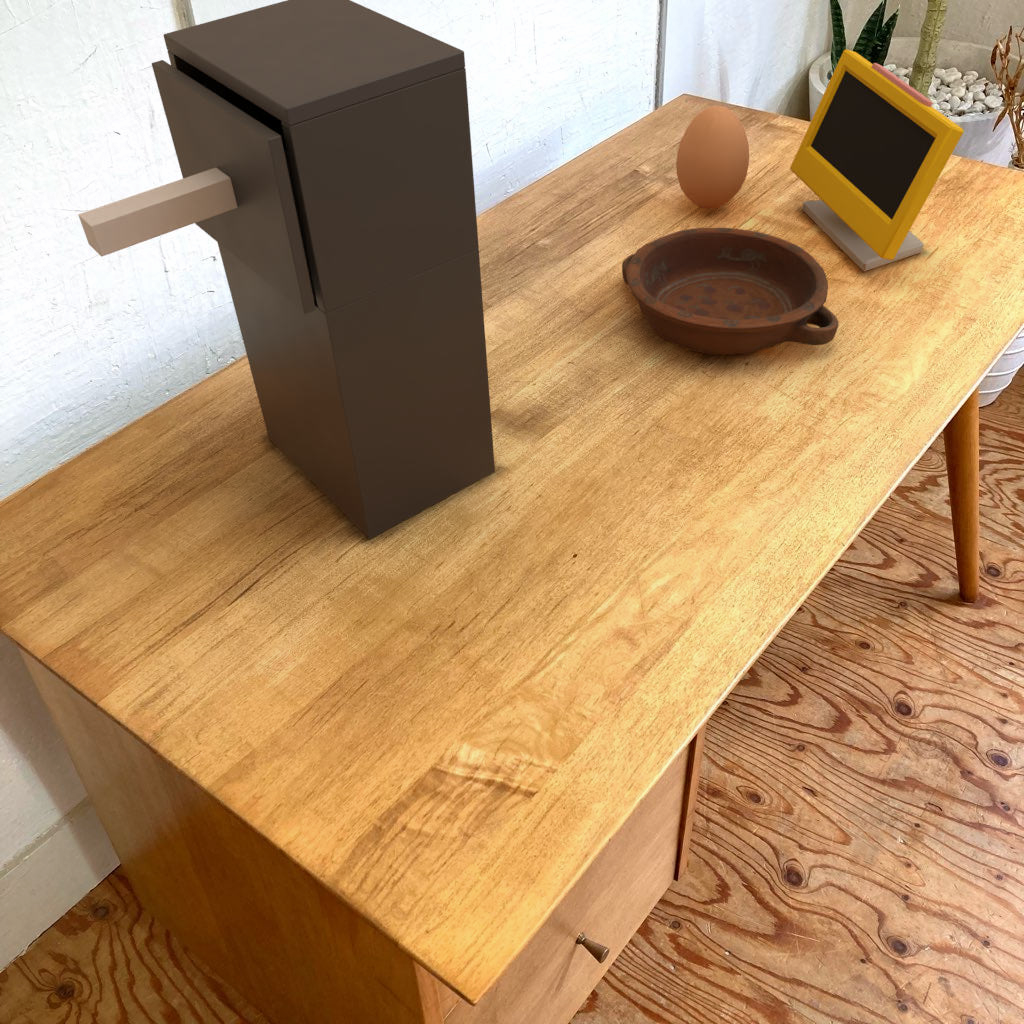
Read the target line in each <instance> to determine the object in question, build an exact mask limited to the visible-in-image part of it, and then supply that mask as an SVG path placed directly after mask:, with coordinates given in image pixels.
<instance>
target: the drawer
mask: <svg viewBox="0 0 1024 1024" xmlns="http://www.w3.org/2000/svg"><path fill="white" fill-rule="evenodd" d="M151 67H152V71H153V74H154V78H155V81H156V85H157V89H158V93H159V97H160V100H161V103H162V107H163V110H164V114H165V118H166V122H167V126H168V130H169V133H170V137H171V141H172V143H173V147H174V151H175V155H176V158H177V162H178V165H179V169H180V172H181V173H180V174H181V176H182V178H181V179H177V180H175V181H173V182H169V183H166V184H163V185H160V186H158V187H154V188H152V189H149V190H145V191H142V192H140V193H137V194H134V195H131V196H128V197H125V198H122V199H119V200H116V201H114V202H113V201H112V202H111V203H110V202H109V203H107V204H105V205H102V206H98V207H96V208H93V209H89V210H86V211H84V212H82V213H81V212H80V213H78V214H77V215H78V219H79V221H80V224H81V226H82V229H83V232H84V235H85V238H86V241H87V243H88V245H89V247H91V248H92V249H93V250H94V251H95V252H96V253H97V254H98V255H99V256H100V257H105V256H107V255H110V254H114V253H116V252H119V251H122V250H124V249H127V248H130V247H132V246H135V245H138V244H141V243H143V242H147V241H149V240H152V239H154V238H157V237H161V236H163V235H166V234H168V233H171V232H174V231H176V230H180V229H182V228H186V227H187V226H190V225H193V224H195V225H196V226H197V227H198V228H199V229H201V230H202V231H203V232H204V233H206V235H208V236H209V237H210V238H212V239H213V240H214V241H216V243H217V242H218V243H219V244H220V245H222V246H223V247H224V248H225V249H226V250H228V251H229V252H230V253H231V254H232V255H234V256H235V257H236V258H237V259H239V260H240V261H241V262H242V263H243V264H245V265H246V266H247V267H248V268H249V269H251V270H252V271H253V272H254V273H255V274H257V275H258V276H259V277H260V278H262V279H263V280H264V281H265V282H266V283H268V284H269V285H270V286H271V287H272V288H274V289H275V290H276V291H277V292H279V293H280V294H281V295H282V296H283V297H285V298H286V299H287V300H288V301H289V302H291V303H292V304H293V305H294V306H295V307H297V308H298V309H299V310H300V311H302V312H303V313H304V314H307V313H310V312H312V311H314V310H316V308H315V303H314V300H316V295H315V290H314V285H313V280H312V275H311V270H310V265H309V260H308V255H307V250H306V244H305V239H304V234H303V229H302V224H301V219H300V214H299V209H298V204H297V199H296V194H295V189H294V184H293V179H292V174H291V169H290V164H289V159H288V154H287V149H286V144H285V139H284V134H283V129H282V124H281V122H282V121H281V120H279V119H278V118H276V117H274V116H273V115H271V114H270V113H268V112H266V111H265V110H263V109H261V108H260V107H258V106H257V105H255V104H253V103H252V102H250V101H249V100H247V99H245V98H244V97H242V96H241V95H239V94H237V93H236V92H234V91H233V90H231V89H229V88H228V87H226V86H225V85H223V84H221V83H220V82H218V81H217V80H216V81H213V82H209V83H206V84H203V85H201V84H199V83H198V82H196V81H195V80H193V79H192V78H190V77H189V76H187V75H185V74H184V73H182V72H181V71H179V70H178V69H176V68H174V67H173V66H171V63H169V62H167V61H165V60H163V59H161V60H158V61H154V62H151ZM218 243H217V244H218Z"/></svg>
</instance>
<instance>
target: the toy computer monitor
mask: <svg viewBox="0 0 1024 1024" xmlns="http://www.w3.org/2000/svg"><path fill="white" fill-rule="evenodd" d="M933 104H934V102H933V101H932V100H930V99H929V97H926V96H925V95H923V94H922V93H921V92H919V91H918V90H916V89H915V88H914V87H912V86H911V85H910V84H908V83H907V82H905V81H904V80H903V79H901V78H900V77H899V76H896V75H895V74H894V73H892V72H891V71H890V70H889V69H887V68H886V67H884V66H883V65H881V64H879V63H876V62H873V63H872V62H871V61H869V60H868V59H866V58H864V56H862V55H860V53H858V52H856V51H853V50H850V49H847V48H846V49H844V50H843V51H842V53H841V56H840V58H839V60H838V62H837V64H836V67H835V69H834V71H833V73H832V75H831V78H830V80H829V81H828V83H827V86H826V88H825V90H824V93H823V94H822V97H821V99H820V101H819V104H818V106H817V108H816V110H815V112H814V114H813V116H812V118H811V121H810V123H809V125H808V127H807V130H806V132H805V135H804V136H803V138H802V141H801V143H800V145H799V147H798V150H797V151H796V153H795V156H794V158H793V160H792V163H791V164H790V167H789V169H790V171H791V172H792V173H793V174H794V175H795V176H797V178H798V179H799V180H801V181H802V183H803V184H805V186H806V187H807V188H808V189H810V191H811V192H813V193H814V194H815V195H816V196H817V197H818V198H819V200H817V199H815V200H805V201H803V202H802V208H801V210H802V211H803V212H804V213H805V214H806V215H807V216H808V217H809V218H810V219H811V220H812V221H813V222H814V223H815V224H816V226H818V227H819V228H820V229H821V231H823V232H824V233H825V234H826V235H827V236H828V237H829V238H830V239H831V240H832V241H833V243H835V245H837V246H838V247H839V248H840V249H841V250H842V251H843V253H845V255H846V256H847V257H849V259H850V260H851V261H853V263H854V264H855V265H856V266H857V267H859V269H860V270H861V271H862V272H867V271H870V270H873V269H876V268H878V267H882V266H885V265H888V264H890V263H894V262H897V261H900V260H903V259H906V258H908V257H912V256H915V255H918V254H921V253H922V252H923V249H924V242H923V241H922V240H920V238H918V237H917V236H916V235H915V234H914V233H913V232H911V229H912V227H913V225H914V223H915V222H916V220H917V217H918V216H919V214H920V212H921V210H922V209H923V207H924V205H925V203H926V202H927V200H928V197H929V196H930V194H931V193H932V190H933V188H934V187H935V185H936V183H937V182H938V179H939V178H940V176H941V174H942V172H943V171H944V169H945V167H946V165H947V163H948V162H949V159H950V158H951V156H952V154H953V153H954V150H955V149H956V148H957V145H958V143H959V141H960V140H961V138H962V137H963V134H964V129H963V128H962V127H961V126H960V125H958V124H957V123H955V122H954V121H952V120H951V119H950V118H948V117H947V116H945V115H944V114H943V113H941V112H940V111H938V110H937V109H935V108H934V107H933Z"/></svg>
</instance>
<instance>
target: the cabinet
mask: <svg viewBox="0 0 1024 1024" xmlns="http://www.w3.org/2000/svg"><path fill="white" fill-rule="evenodd" d="M163 39H164V43H165V47H166V51H167V55H168V59H169V62H170V63H169V64H170V65H171V66H173V67H174V68H176V69H178V70H179V71H181V72H182V73H184V74H185V75H187V76H189V77H190V78H192V79H193V80H195V81H196V82H198V83H199V84H201V85H203V84H206V83H209V82H213V81H216V80H217V81H218V82H220V83H221V84H223V85H225V86H226V87H228V88H229V89H231V90H233V91H234V92H236V93H237V94H239V95H241V96H242V97H244V98H245V99H247V100H249V101H250V102H252V103H253V104H255V105H257V106H258V107H260V108H261V109H263V110H265V111H266V112H268V113H270V114H271V115H273V116H274V117H276V118H278V119H279V120H281V121H282V122H281V124H282V129H283V134H284V139H285V144H286V149H287V154H288V159H289V164H290V169H291V174H292V179H293V184H294V189H295V194H296V199H297V204H298V209H299V214H300V219H301V224H302V229H303V234H304V239H305V244H306V250H307V255H308V260H309V265H310V270H311V275H312V280H313V285H314V290H315V295H316V300H314V303H315V308H316V310H314V311H312V312H310V313H307V314H304V313H303V312H302V311H300V310H299V309H298V308H297V307H295V306H294V305H293V304H292V303H291V302H289V301H288V300H287V299H286V298H285V297H283V296H282V295H281V294H280V293H279V292H277V291H276V290H275V289H274V288H272V287H271V286H270V285H269V284H268V283H266V282H265V281H264V280H263V279H262V278H260V277H259V276H258V275H257V274H255V273H254V272H253V271H252V270H251V269H249V268H248V267H247V266H246V265H245V264H243V263H242V262H241V261H240V260H239V259H237V258H236V257H235V256H234V255H232V254H231V253H230V252H229V251H228V250H226V249H225V248H224V247H223V246H222V245H220V244H219V243H218V242H217V241H216V243H217V247H218V249H219V254H220V257H221V261H222V266H223V269H224V273H225V277H226V281H227V284H228V288H229V292H230V296H231V300H232V304H233V308H234V311H235V314H236V319H237V322H238V327H239V330H240V334H241V338H242V342H243V346H244V350H245V353H246V357H247V360H248V361H247V362H248V364H249V368H250V372H251V376H252V380H253V384H254V387H255V391H256V395H257V399H258V403H259V407H260V412H261V414H262V417H263V422H264V427H265V429H266V434H267V437H268V440H270V441H271V442H272V443H273V444H274V445H275V446H276V448H278V449H279V450H280V451H281V452H282V453H283V454H284V455H285V456H286V457H287V458H288V459H289V461H291V462H292V464H294V465H295V467H297V468H298V470H299V471H301V473H302V474H304V476H305V477H306V478H307V479H308V480H309V481H310V482H312V484H314V485H315V487H316V488H318V490H320V492H322V494H323V495H324V496H325V497H326V498H327V499H328V500H330V502H331V503H333V505H334V506H336V508H337V509H338V510H339V511H340V512H341V513H342V514H343V515H344V516H345V517H346V518H347V519H348V520H349V521H350V522H351V523H352V524H353V525H354V526H355V527H356V528H357V529H358V530H359V531H360V532H361V533H362V534H363V535H364V536H365V537H366V538H367V539H368V540H372V539H373V538H375V537H377V536H379V535H380V534H383V533H384V532H386V531H388V530H390V529H392V528H394V527H396V526H397V525H399V524H401V523H402V522H404V521H406V520H408V519H410V518H412V517H415V515H417V514H419V513H421V512H423V511H425V510H427V509H429V508H431V507H433V506H434V505H435V504H438V503H439V502H442V501H443V500H445V499H447V498H448V497H449V498H450V497H451V496H453V495H454V494H457V493H458V492H460V491H461V490H464V489H465V488H467V487H469V486H471V485H473V484H475V483H476V482H478V481H480V480H482V479H484V478H485V477H488V476H489V475H491V474H493V473H495V472H496V466H495V465H496V464H495V454H494V453H495V452H494V437H493V426H492V411H491V398H490V396H491V395H490V385H489V384H490V383H489V371H488V357H487V346H486V345H487V342H486V341H487V340H486V329H485V316H484V302H483V301H484V300H483V288H482V273H481V260H480V259H481V258H480V249H479V248H480V247H479V246H480V245H479V232H478V219H477V207H476V191H475V178H474V177H475V176H474V166H473V165H474V163H473V153H472V152H473V150H472V139H471V138H472V137H471V122H470V110H469V96H468V83H467V82H468V81H467V71H466V69H467V68H466V59H465V58H466V56H465V51H464V50H462V49H460V48H458V47H456V46H453V45H451V44H449V43H447V42H445V41H442V40H440V39H438V38H436V37H433V36H432V35H429V34H427V33H425V32H422V31H420V30H417V29H415V28H413V27H411V26H409V25H406V24H404V23H402V22H400V21H398V20H395V19H393V18H391V17H389V16H386V15H384V14H382V13H380V12H378V11H375V10H373V9H370V8H368V7H366V6H364V5H362V4H359V3H357V2H355V1H353V0H284V1H279V2H276V3H272V4H268V5H265V6H261V7H258V8H254V9H250V10H247V11H243V12H239V13H236V14H231V15H228V16H224V17H221V18H218V19H214V20H211V21H207V22H203V23H200V24H199V23H198V24H196V25H192V26H189V27H185V28H181V29H178V30H174V31H170V32H166V33H164V34H163Z"/></svg>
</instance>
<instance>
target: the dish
mask: <svg viewBox="0 0 1024 1024" xmlns="http://www.w3.org/2000/svg"><path fill="white" fill-rule="evenodd" d="M621 274H622V279H623V282H624V284H625V285H626V286H628V289H629V291H630V293H631V294H632V296H633V297H634V298H635V299H636V300H637V303H638V306H639V308H640V311H641V313H642V316H643V317H644V319H645V320H646V322H647V324H648V325H649V326H650V328H651V329H652V330H653V331H654V332H655V333H656V334H657V335H658V336H660V337H661V338H663V339H664V340H666V341H668V342H670V343H672V344H674V345H675V346H677V347H680V348H683V349H686V350H690V351H693V352H698V353H703V354H708V355H722V356H723V355H725V356H726V355H735V354H736V355H737V354H745V353H746V354H748V353H752V352H753V353H754V352H758V351H762V350H766V349H767V348H768V349H769V348H772V347H774V346H778V345H781V344H783V343H795V344H796V343H797V344H803V345H809V346H823V345H827V344H829V343H831V342H832V341H833V340H834V339H835V336H836V334H837V331H838V329H839V320H838V318H837V315H836V314H834V313H833V312H832V311H831V310H830V309H829V308H827V307H826V306H825V305H824V304H825V303H827V298H828V292H829V291H828V290H829V284H828V283H829V282H828V278H827V275H826V273H825V270H824V268H823V267H822V265H820V263H819V262H818V261H817V259H816V258H814V257H813V256H812V255H811V253H809V252H808V251H806V250H805V249H803V248H802V247H800V246H799V245H797V244H794V243H792V242H791V241H788V240H785V239H783V238H780V237H777V236H774V235H771V234H767V233H763V232H759V231H755V230H748V229H742V228H736V227H735V228H734V227H696V228H689V229H682V230H679V231H675V232H672V233H669V234H667V235H663V236H661V237H658V238H657V239H654V240H652V241H650V242H648V243H645V244H644V245H642V246H641V247H640V248H638V249H637V250H636V252H634V253H632V254H630V255H628V256H627V257H626V258H625V259H624V260H623V261H622V264H621ZM810 325H813V326H810ZM814 326H816V327H814Z"/></svg>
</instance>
